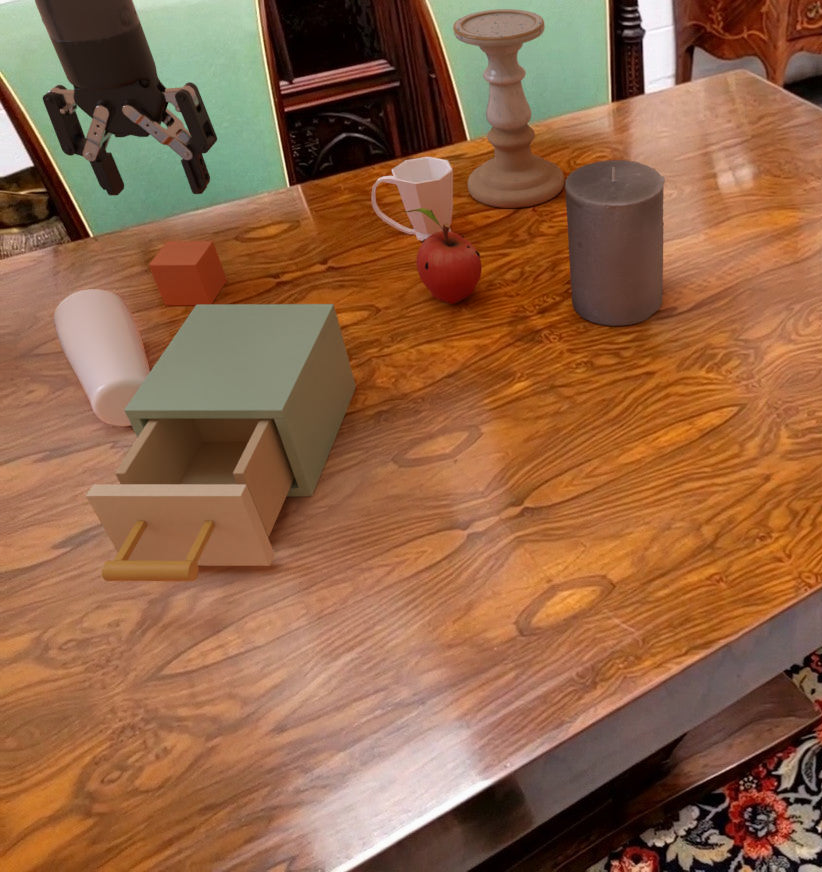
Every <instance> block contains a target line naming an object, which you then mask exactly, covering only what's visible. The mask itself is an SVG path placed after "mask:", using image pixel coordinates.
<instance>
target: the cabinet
mask: <svg viewBox="0 0 822 872" xmlns="http://www.w3.org/2000/svg"><path fill="white" fill-rule="evenodd" d="M356 388H357V385H356V381H355V378H354V374H353V369H352V366H351V362H350V358H349V355H348V352H347V348H346V344H345V340H344V337H343V333H342V330H341V326H340V322H339V319H338V315H337V311H336V308H335V305H334V303H275V304H274V303H257V304H255V303H249V304H248V303H246V304H244V303H240V304H239V303H238V304H237V303H236V304H235V303H234V304H233V303H232V304H230V303H227V304H222V303H219V304H215V303H214V304H213V303H212V304H201V305H194V307H193V309H192V310H191V312H190V313H189V314H188V316H187V318H186V319H185V321H184V322H183V323H182V325H181V326H180V328H179V329H178V331H177V332H176V334H175V335H174V336H173V338H172V339H171V341H170V342H169V344H168V345H167V347H165V349H164V351H163V353H162V354H161V355H160V357H159V358H158V360H157V361H156V362H155V364H154V365H153V367H152V369H150V373H149V374H148V376H147V377H146V379H145V380H144V382H143V383H142V385H141V386H140V388H139V389H138V390H137V392H136V393H135V395H134V396H133V398H132V399H131V401H130V402H129V404H128V405H127V406H126V408H125V409H124V411H125V413H126V415H127V417H128V419H129V421H130V423H131V427H132V430H133V432H134V434H135V437H136V439H137V438H138V436H139V435H140V433H141V432H142V430H143V429H144V427H145V426H146V424H147V422H148V421H149V419H274V420H275V423H276V426H277V428H278V431H279V434H280V437H281V440H282V442H283V445H284V448H285V451H286V454H287V457H288V459H289V462H290V465H291V468H292V471H293V473H294V476H295V477H294V480H293V482H292V484H291V487H290V489H289V491H288V494H287V496H286V497H313V495H314V493H315V491H316V488H317V485H318V483H319V481H320V478H321V476H322V473H323V470H324V469H325V466H326V463H327V461H328V458H329V455H330V453H331V450H332V448H333V446H334V443H335V441H336V438H337V435H338V433H339V430H340V428H341V426H342V423H343V420H344V418H345V416H346V413H347V411H348V409H349V406H350V403H351V401H352V398H353V397H354V393H355V391H356Z"/></svg>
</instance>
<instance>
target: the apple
mask: <svg viewBox="0 0 822 872" xmlns="http://www.w3.org/2000/svg"><path fill="white" fill-rule="evenodd" d="M412 211H419V212H422V213H424V214H426V215H427V216H428V217H429V218H431V219H432V220H434V221H435V222H436V223H437V224H438V225H439V226H440V227H441V225H440V224H439V223H438V221H437V219H436V217H435V215H434V214H433V213H432V211H431V210H428V209H424V208H421V209H415V210H410V211H406V210H403V211H402V212H404V213H407V212H412ZM441 228H442V227H441ZM449 228H450V229H451V226H449V225H448V224H444V225H443V228H442V230H443V231H439V232H436V233H434V234H432V235H430V236H429V237H428V238H426V239H424V240H423V241H421V242H422V243H421V244H420V246H419V248H418V251H417V253H416V270H417V273H418V276H419V277H420V280H421V281H422V283H423V285H424V286H425V287H426V289H427V290H428V291H429V292H430V293H431V295H432V296H433V297H434V298H435V299H436V300H438V301H441V302H444V303H446V304H448V305H454V304H457V303H458V302H461V301H463V300H464V299H468V298H469V297H470V296H471V295H472V293H474V290H475V288H476V286H477V285H478V283H479V281H480V279H481V275H482V262H481V254H480V252H479V251H478V250H477V249H476V248H475V246H474V245H473V244H472V243H471V242H470V241H469V240H468V239H466V238H465V236H463V235H459V234H458V233H456V232H453V231H451V232H450V231H449Z"/></svg>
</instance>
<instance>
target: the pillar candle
mask: <svg viewBox="0 0 822 872" xmlns="http://www.w3.org/2000/svg"><path fill="white" fill-rule="evenodd" d="M665 182H666V179H665V177H664V176H663V175H661V174H660V173H659V171H657V170H656V169H655V168H653V167H651V166H649V165H647V164H644V163H641V162H639V161H632V160H625V159H624V160H623V159H622V160H621V159H612V160H599V161H595V162H591V163H587V164H584V165H582V166H580V167H578V168H576V169H574V170H573V171H571V172H570V173H569V175H567V177H566V179H565V180H564V190H565V206H566V222H567V225H566V226H567V236H568V238H567V239H568V240H567V241H568V259H569V276H570V289H571V291H570V292H571V303H572V307H573V309H574V311H575V312H576V314H578V315H579V316H580V317H581V318H583V319H584V320H586V321H589V322H591V323H593V324H597V325H601V326H611V327H621V326H631V325H635V324H638V323H642V322H645V321H646V320H648V319H649V318H650V317H651V316H653V314H655V313H656V312H657V311H658V310H659V309H660V308H661V306H662V305H663V300H664V299H663V295H664V225H665V223H664V197H665V196H664V195H665V193H664V192H665V191H664V189H665V186H664V185H665Z"/></svg>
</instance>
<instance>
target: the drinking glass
mask: <svg viewBox="0 0 822 872" xmlns="http://www.w3.org/2000/svg"><path fill="white" fill-rule="evenodd" d="M53 324H54V327H55V332H56V336H57V339H58V342H59V345H60V347H61V350H62V352H63V354H64V356H65V358H66V360H67V362H68V364H69V365H70V367H71V369H72V371H73V373H74V374H75V376H76V378H77V380H78V382H79V384H80V386H81V387H82V389H83V391H84V393H85V395H86V398H87V399H88V401H89V404H90V407H91V409H92V411H93V413H94V415H95V416H96V417H97V418H98V419H99V420H100V421H102V422H103V423H104V424H105V423H106V424H107V425H109V426H110V425H111V426H113V427H114V426H115V427H132V425H131V423H130V421H129V419H128V417H127V415H126V413H125V411H124V409H125V408H126V406H127V405H128V404H129V402H130V401H131V399H132V398H133V396H134V395H135V393H136V392H137V390H138V389H139V388H140V386H141V385H142V383H143V382H144V380H145V379H146V377H147V376H148V374H149V373H150V371H151V369H150V364H149V361H148V357H147V354H146V349H145V346H144V342H143V338H142V335H141V331H140V328H139V326H138V323H137V321H136V319H135V316H134V314H133V313H132V311H131V310H130V308H129V306H128V304H127V303H126V302H125V301H124V300H123V298H121V297H120V296H119V295H117V294H115V293H113V292H112V291H108V290H105V289H100V288H89V289H82V290H78V291H75V292H73V293H70V294H69V295H67V296H66V297H65V298H63V300H62V301H60V303H59V304H58V305H57V307H56V308H55V312H54V315H53Z"/></svg>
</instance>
